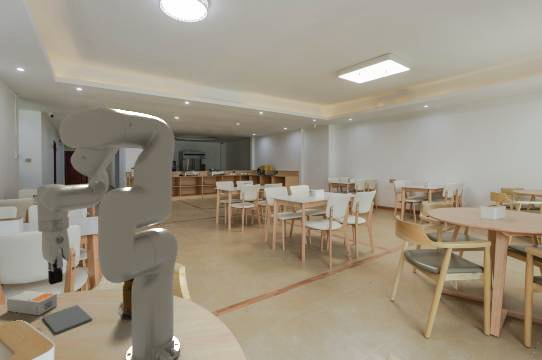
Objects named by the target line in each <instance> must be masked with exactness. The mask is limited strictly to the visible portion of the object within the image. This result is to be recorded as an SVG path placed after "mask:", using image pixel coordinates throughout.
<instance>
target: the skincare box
mask: <svg viewBox="0 0 542 360" xmlns="http://www.w3.org/2000/svg"><path fill="white" fill-rule="evenodd" d="M57 297H58V296H57V293H52V292H51V293H50V292H42V291H33V290H24V291H22V292H20V293H18V294H15V295H13V296H10V297H9V298H6V306H7V307H6V309H7V312H8V311H13V312H12V313H16V312H17V313H18V314H26V315H32V316H33V315H35V316H41V315H42V314H45V313H47V312H49V311H50V310H51V309H52V310H53V308H56V307H58V299H57Z"/></svg>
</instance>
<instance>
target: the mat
mask: <svg viewBox="0 0 542 360" xmlns="http://www.w3.org/2000/svg"><path fill="white" fill-rule="evenodd" d="M42 320H43V321H44V322H45V324H47V326H48V327H49V328H50V329H51V330H52V332H53V333H54V335H58V334H60V333H62V332H66V331H67V330H70V329H73V328H75V327H78V326H81V325H83V324H86V323H89V322H91V321H93V317H91V316H90V315H89V314H88V313H87V312H86V311H84V309H82V308H81V307H80V306H79V305H78V304H76V305H72V306H70V307H67V308H64V309H61V310H58V311H55V312H53V313H50V314H46V315H43V316H42Z"/></svg>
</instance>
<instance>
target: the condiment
mask: <svg viewBox="0 0 542 360" xmlns="http://www.w3.org/2000/svg"><path fill="white" fill-rule="evenodd" d="M133 281H134V278H132V279H130V280H128V281H125V282H123V283H124V284H123V286H122V309H120V310H118V314H119V315H120V317H121V319H122V322H124V323H128V322H132V285H133Z"/></svg>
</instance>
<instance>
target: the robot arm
mask: <svg viewBox="0 0 542 360" xmlns="http://www.w3.org/2000/svg"><path fill="white" fill-rule="evenodd" d="M58 134H59V138H60V141H61V142H62V144H63V145H65V146H66V147H68V148H71V149H75V150H74V152H73V153H72V154H71V155H72V156H71V157H70V163H71V165H72V168H73V169H74V170H75V171H76V172H78V173H80V174H81V175H83V176H86V177H88V178H91V179H90V180H89V181H88V183H80V184H67V185H66V184H59V183H57V184H56V183H52V184H51V183H49V184H48V183H47V184H41V185H39V186H38V187H37V188H36V203H37V204H36V207H37V208H36V209H37V231H38V232H39V233H41V254H42V257H43V259H44V260H45V261H47V270H48V272H47V274H48V275H47V276H48V283H49V284H50V285H52V286H53V285H55V284H59V283H62V282H63V279H64V275H63V267H64V260H65V261H67V262H69V261H70V260H71V250H70V238H69V233H68V229H69V228H70V222H69V221H70V220H69V219H70V218H69V217H70V216H69V215H70V214H69V211H74V210H82V209H90V208H93V207H96V206H97V205H98V204H99V203H100V204H99V207H98V213H97V214H98V215H97V222H98V225H97V226H98V229H97V232H98V235H97V236H98V241H97V242H98V246H97V247H98V262H99V268H100V271H101V273H102V276H103V277H104V278H105V280H106V281H108V282H110V283H112V284H120V283H124V282H125V281H128V280H130V279H132V278H134V281H133V285H132V321H131V341H132V342H131V346H130V347H129V348H128V349H127V351H126V352H125V356H124V357H125V358H124V360H175V359H176V358H177V357H179V355H180V350H181V343H180V340H179V339H178V338H177V337H176V336H175V335H174V277H175V276H174V275H175V267H176V260H177V258H178V250H179V249H178V246H179V245H178V240H177V237H176V236H175V234H174V233H173V232H172V231H171V230H169V229H167V228H162V227H155V228H150V229H144V230H140V231H136V230H138V229H142V228H146V227H150V226H155V225H158V224H160V223H163V222H165V221H166V220H168V219H169V218H170V216H171V212H172V207H173V205H172V204H173V202H172V201H173V161H174V155H175V148H176V143H175V142H176V140H175V139H176V138H175V135H174V132H173V129H172V128H171V126H170V125H169V123H167V122H166V121H164V120H163V119H161V118H159V117H156V116H154V115H153V116H152V115H149V114H145V113H140V112H135V111H128V110H127V111H126V110H121V109H116V108H111V107H94V108H90V109H85V110H84V109H83V110H78V111H74V112H71V113H69V114H67V115H66V116H65V117H64V118H63V120H62V121H61V122H60V126H59V133H58ZM120 148H122V149H141V150H142V151H141V152H140V153H139V154H138V156H137V158H136V160H135V162H134V165H133V180H132V186H127V187H118V188H117V187H116V188H114V189H111V190H110V191H109V185H110V180H109V175H108V172H107V168H108V166H109V165H110V163H111V162H112V160H113V159H114V157H116V154H117V152H118V151H119V149H120Z"/></svg>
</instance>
